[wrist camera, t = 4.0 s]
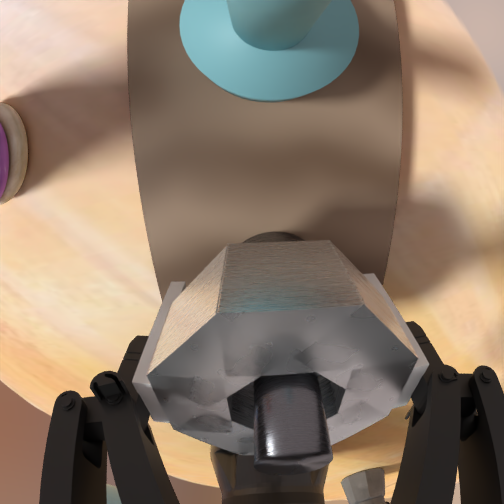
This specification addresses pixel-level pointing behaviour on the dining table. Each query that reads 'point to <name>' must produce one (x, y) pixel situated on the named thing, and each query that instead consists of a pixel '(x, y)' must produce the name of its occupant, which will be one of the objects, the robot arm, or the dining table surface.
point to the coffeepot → (365, 487)
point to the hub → (270, 44)
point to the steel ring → (277, 341)
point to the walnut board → (263, 149)
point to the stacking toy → (11, 152)
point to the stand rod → (289, 413)
